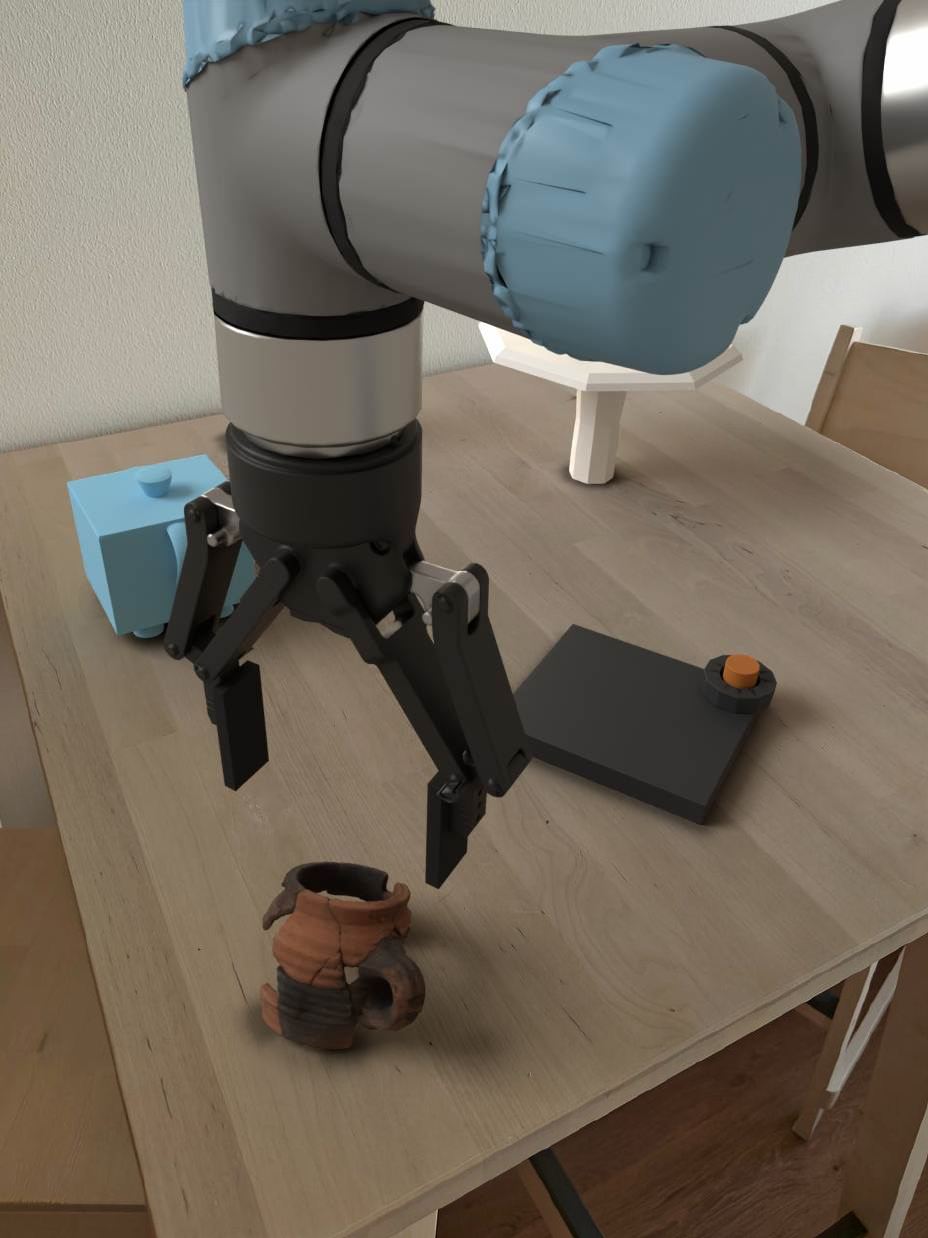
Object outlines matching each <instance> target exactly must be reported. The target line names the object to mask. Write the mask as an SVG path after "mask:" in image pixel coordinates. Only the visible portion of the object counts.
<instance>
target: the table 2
mask: <svg viewBox="0 0 928 1238" xmlns="http://www.w3.org/2000/svg"><path fill="white" fill-rule="evenodd" d="M477 326H478V329H479V331H480V333H481V336H482V338H483V341H484V343H485V345H486V348H487V350H488V352H489V355H490V357H491V360H492V363H494V364H497V365H501V366H503V367H506V368H508V369H509V368H510V369H513V370H516V371H519V372H521V373H525V374H529V375H532V376H535V377H538V378H541V379H544V380H547V381H551V382H554V383H557V384H560V385H562V386H563V385H564V386H566V387H570V388H573V389H575V390H576V403H575V404H576V407H575V411H576V413H575V421H574V429H573V434H572V442H571V451H570V458H569V466H568V467H569V468H568V471H569V474H570V476H571V478H572V479H573V480H575V481H578V482H581V483H584V484H586V485H599V484H600V485H601V484H603V485H604V484H606V483H608V482H609V481H611V480H612V479H613V478H614V474H615V467H616V461H617V460H616V459H617V451H618V443H619V433H620V424H621V419H622V414H623V410H624V405H625V401H626V396H627V392H646V391H647V392H649V391H651V392H653V391H655V392H656V391H657V392H658V391H696V390H697V389H699V388H701V387H702V386H704V385H706V384H707V383H709V382H711V381H712V380H713V379H715V378H717V377H718V376H720V375H722V374H724V373H725V372H726V371H728V370H730V369H732V368H733V367H735V366H736V365H738V364H739V363H741V362H743V361H744V358H743V353H742V351H740V350H739V349H738V348H737V347H736V346H735V345H734V344H733V342H732V343H731V345H730V346H729V347H728V349H727V350H726V351H725V352H724V353H722V354H721V355H720V356H718V357H717V358H716V359H714V360H713V361H711V362H709V363H708V364H706V365H705V366H702V367H700V368H698V369H695V370H693V371H690V372H687V373H683V374H675V375H656V374H650V373H646V372H641V371H637V370H633V369H629V368H625V367H621V366H617V365H612V364H608V363H604V362H590V361H579V360H577V359H574V358H572V357H570V356H569V355H567V354H563V355H558V354H555V353H553V352H551V351H548V350H547V349H546V348H545V347H544V346H540V345H537V344H534V343H533V342H532V341H531V340H530V339H527V338H524V337H522V336H519V335H516V334H513V333H511V332H508V331H505V330H502V329H500V328H497V327H494V326H491V325H489V324H486V323H483V322H480V321H479V324H478V325H477Z"/></svg>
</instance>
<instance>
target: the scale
mask: <svg viewBox="0 0 928 1238" xmlns="http://www.w3.org/2000/svg"><path fill="white" fill-rule="evenodd" d="M732 655H733V654H721V655H718V656H717V657H714V658H710V659H709V660H708V661H707V663H706V665H705V666H704V668H703V667H700V666H697V665H694V664H691V663H688V662H686V661H682V660H679V659H677V658H673V657H671V656H668V655H665V654H661V653H659V652H656V651H654V650H650V649H648V648H645V647H641V646H639V645H636V644H633V643H630V642H627V641H624V640H621V639H618V638H616V637H613V636H610V635H607V634H605V633H601V632H598V631H596V630H593V629H591V628H587V627H584V626H581V625H578V624H575V623H572V624H571V625H570V626H569V627H568V629H567V630H566V631H565V632H564V633H563V635H562V636H561V637H560V638H559V639H558V641H557V642H556V643H555V644H554V645H553V646H552V647H551V649H549V651H548V652H547V653H546V654H545V656H544V657H543V658H542V659H541V660H540V661H539V663H537V665H536V666H535V667H534V669H532V671H531V672H530V673H528V675H527V677H526V678H525V679H524V680H523V681H522V682H521V684H520V685H519V686H518V687H517V688H516V689H515V691H514V692H512V693H513V696H514V700H515V703H516V706H517V709H518V712H519V716H520V719H521V722H522V725H523V728H524V732H525V735H526V738H527V741H528V744H529V748H530V751H531V755H532V757H534V758H535V759H539V760H541V761H544V762H546V763H548V764H551V765H552V766H553V765H554V766H556V767H557V768H558V767H559V768H561V769H563V770H566V771H568V772H570V773H572V774H573V773H574V774H575V775H578V776H580V777H583V778H585V779H588V780H590V781H593V782H595V783H598V784H600V785H602V786H605V787H607V788H610V789H612V790H614V791H617V792H619V793H622V794H624V795H627V796H630V797H632V798H635V799H636V800H639V801H641V802H643V803H646V804H649V805H652V806H654V807H656V808H659V809H661V810H664V811H666V812H669V813H671V814H674V815H676V816H678V817H681V818H684V819H686V820H689V821H691V822H693V823H696V824H698V825H702V824H703V822H704V821H705V818H706V816H707V814H708V813H709V810H710V808H711V806H712V804H713V803H714V801H715V799H716V797H717V795H718V793H719V792H720V789H721V787H722V785H723V784H724V781H725V779H726V778H727V775H728V773H729V772H730V769H731V768H732V766H733V763H734V762H735V760H736V758H737V756H738V754H739V752H740V750H741V748H742V746H743V744H744V743H745V740H746V739H747V736H748V735H749V733H750V731H751V729H752V727H753V725H754V723H755V721H756V720H757V718H758V715H759V714H760V712H762V711H765V710H767V709H768V708H769V707H770V704H771V703H772V701H773V699H774V696H775V692H776V688H777V685H778V681H777V679H776V677H775V674H774V672H773V670H771V669H770V668H768V667H767V666H766V665H765V664H764V663H762V662H761V661H760V660H757V659H755V660H756V661H757V662H758V663H759V665H760V670H759V674H758V678H757V682H756V684H755V686H754V687H752V688H750V689H745V688H736V687H733V686H731V685H729V684H727V683H726V682H725V681H724V679H723V672H724V668H725V664H726V660H727V658H728V657H730V656H732Z"/></svg>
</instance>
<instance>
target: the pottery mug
mask: <svg viewBox="0 0 928 1238" xmlns="http://www.w3.org/2000/svg"><path fill="white" fill-rule="evenodd" d="M388 883H389V873H388V872H387V871H384V870H381V869H379V868H375V867H372V866H368V865H364V864H359V863H354V862H353V863H352V862H342V861H341V862H337V861H313V862H306V863H301V864H299V865H296V866H294V867H293V868H290V870H289V871H287V873H285V876H284V878H283V881H282V882H281V883H280V886H281V887H283V888H284V889H283V890H282V891H281V892H280V893H278V894H277V895H276V897H274V899H273V900H272V901H271V903H270V904H269V907H268V908H267V910H266V912H265V913H264V914H263V916H262V927H261V928H262V930H263V931H268V930H270V928H272V925H273V924H274V923H275V922H276V921H278V920H279V919H281V918H283V917H285V916H288V915H289V916H288V917H287V918H286V920H285V921H284V923H283V924H282V925H281V926H280V928H278V930H277V932H276V933H275V934H274V936H273V938H272V949H271V950H272V956H273V957H274V959H275V961H276V962H277V963H278V964H279V965H278V966H277V967H276V981H277V990H276V989H274V988H273V987H272V985H271V984H270V983H268V982H266V983H262V984H261V986H260V989H259V997H260V1004H261V1010H262V1020H263V1021H264V1023H265V1025H266V1026H267V1027H268V1028H270V1029H271V1030H272V1032H275V1033H277V1034H278V1035H280V1036H282V1037H283V1038H284V1039H286V1040H289V1041H292V1042H294V1043H296V1044H298V1045H299V1046H306V1047H308V1048H309V1047H310V1048H312V1049H319V1050H340V1049H341V1050H342V1049H343V1050H344V1049H350V1048H351V1047H352V1044H353V1039H354V1037H353V1036H354V1035H355V1033H356V1030H357V1027H358V1025H360V1026H361V1027H362V1028H363V1029H365V1030H368V1031H375V1030H380V1031H389V1032H399V1031H401V1030H403V1029H404V1028H406V1027H408V1026H410V1025H411V1024H413V1023H414V1022H415V1021H416V1020H417V1018H418V1017H419V1015H420V1014H421V1013H422V1011H423V1009H424V1005H425V1002H426V1001H425V1000H426V990H427V989H426V981H425V978H424V975H423V972H422V970H421V969H420V967H419V966H418V965H417V963H416V962H415V961H414V960H413V959H412V958H411V957H410V956H409V955H408V954H407V952H406V948H405V946H404V943H403V942H402V940H400V939H403V940H407V939H408V938H409V933H410V931H411V924H412V918H413V912H412V910H411V909H410V908H409V907H408V906H409V905H408V904H409V902H410V900H411V895H412V894H411V893H412V892H411V890H410V888H409V886H408V885H407V884H406V883H403V882H398V881H397V882H395V883H394V884H393V889H392V890H393V891H390V890H388V889H387V888H388V887H387V886H388ZM322 892H326V893H327V894H328V895H330V896H331V895H332V896H339V897H340V896H341V897H343V896H344V897H351V898H357V899H359V900H362V901H358V900H357V901H356V900H355V901H354V900H343V899H340V898H330V897H328V896H326V895H322V894H320V893H322ZM390 935H391V936H393V937H390ZM395 937H396V938H395ZM345 968H351V969H353V968H358V969H357V975H358V977H357V978H355V979H354V980H353V981H351V982H350V983H349V982H348V981H347V978H346V971H345Z"/></svg>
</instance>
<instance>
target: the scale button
mask: <svg viewBox="0 0 928 1238" xmlns="http://www.w3.org/2000/svg"><path fill="white" fill-rule="evenodd" d="M731 655H732V656H730V657H728V658H727V660H726V664H725V668H724V672H723V679H724V681H725V682H726V683H727V684H729V685H731V686H733V687H736V688H745V689H750V688H752V687H754V686H755V684H756V682H757V678H758V674H759V670H760V665H759V663H758V662H757V661H758V660H757V659H755V658H754V657H752V656H750V655H746V654H742V653H741V654H739V653H737V654H731ZM756 660H757V661H756Z"/></svg>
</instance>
